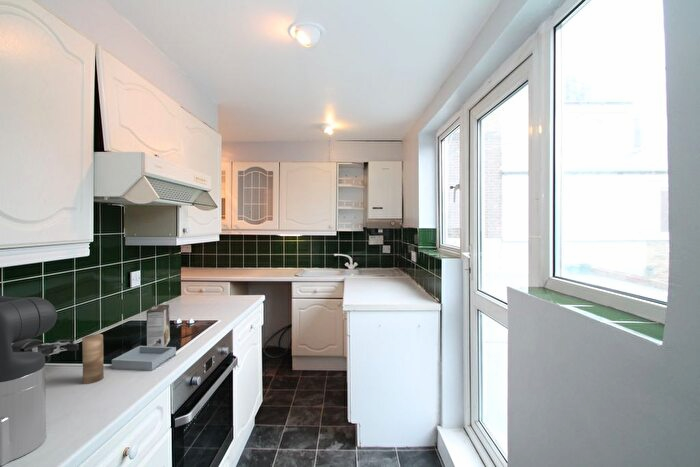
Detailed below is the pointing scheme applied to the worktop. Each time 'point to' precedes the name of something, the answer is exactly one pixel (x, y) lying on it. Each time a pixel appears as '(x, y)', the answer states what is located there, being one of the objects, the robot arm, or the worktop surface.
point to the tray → (144, 358)
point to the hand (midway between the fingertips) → (64, 352)
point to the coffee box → (158, 326)
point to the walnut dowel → (92, 358)
